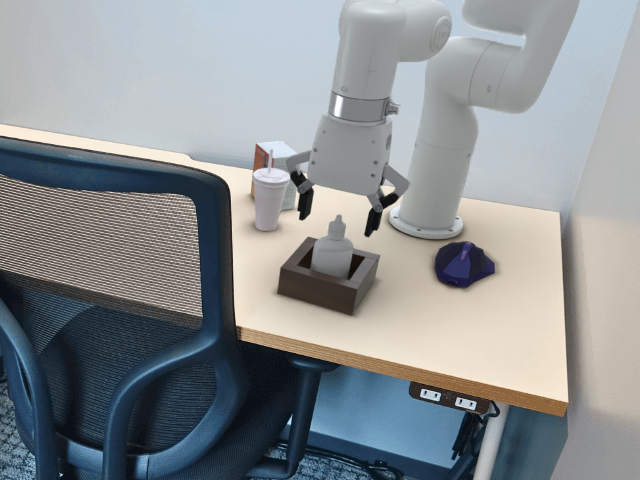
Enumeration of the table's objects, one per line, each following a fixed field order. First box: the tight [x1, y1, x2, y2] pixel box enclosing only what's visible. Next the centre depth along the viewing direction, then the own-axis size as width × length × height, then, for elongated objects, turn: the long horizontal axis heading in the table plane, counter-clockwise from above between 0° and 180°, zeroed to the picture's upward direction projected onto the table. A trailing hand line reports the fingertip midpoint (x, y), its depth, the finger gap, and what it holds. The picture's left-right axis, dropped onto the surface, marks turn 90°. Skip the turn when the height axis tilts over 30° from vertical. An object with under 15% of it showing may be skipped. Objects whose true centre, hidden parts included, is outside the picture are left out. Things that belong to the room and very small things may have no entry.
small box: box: [250, 140, 302, 211], centre depth 128 cm, size 8×6×10 cm
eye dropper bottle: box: [310, 213, 354, 280], centre depth 103 cm, size 4×6×12 cm
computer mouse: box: [434, 240, 496, 288], centre depth 110 cm, size 9×15×4 cm, turn 149°
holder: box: [276, 236, 381, 317], centre depth 105 cm, size 12×12×4 cm
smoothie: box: [251, 149, 290, 232], centre depth 119 cm, size 6×6×14 cm
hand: (336, 225), depth 100 cm, fingers open, 9 cm apart
